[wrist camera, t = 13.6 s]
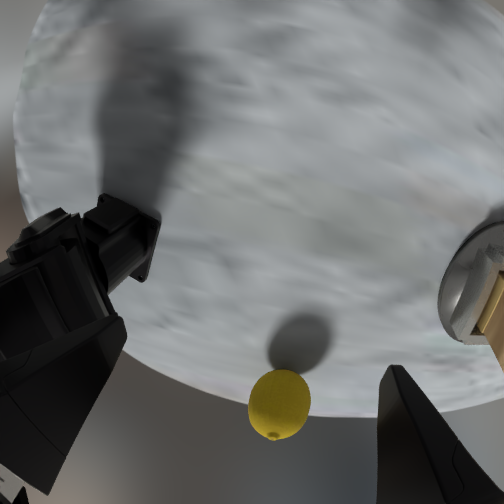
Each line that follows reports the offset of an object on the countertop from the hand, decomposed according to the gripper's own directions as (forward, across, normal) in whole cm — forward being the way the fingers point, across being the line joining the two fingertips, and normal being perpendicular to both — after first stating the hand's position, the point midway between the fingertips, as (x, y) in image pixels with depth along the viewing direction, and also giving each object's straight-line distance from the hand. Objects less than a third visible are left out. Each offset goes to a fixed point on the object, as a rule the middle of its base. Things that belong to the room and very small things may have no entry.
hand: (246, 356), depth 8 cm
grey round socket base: (+13, -19, +3) cm, 23 cm away
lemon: (+13, -2, +16) cm, 20 cm away
